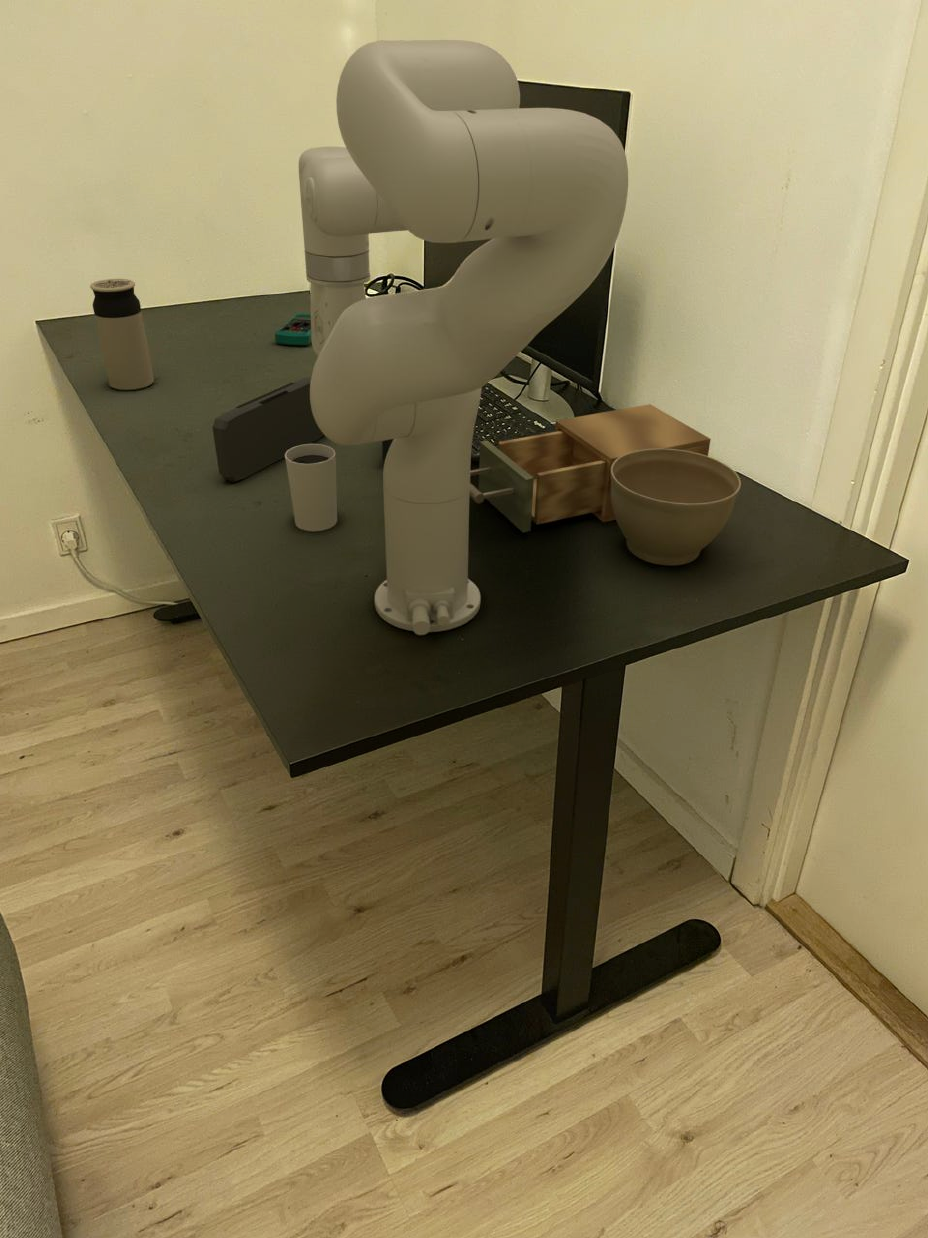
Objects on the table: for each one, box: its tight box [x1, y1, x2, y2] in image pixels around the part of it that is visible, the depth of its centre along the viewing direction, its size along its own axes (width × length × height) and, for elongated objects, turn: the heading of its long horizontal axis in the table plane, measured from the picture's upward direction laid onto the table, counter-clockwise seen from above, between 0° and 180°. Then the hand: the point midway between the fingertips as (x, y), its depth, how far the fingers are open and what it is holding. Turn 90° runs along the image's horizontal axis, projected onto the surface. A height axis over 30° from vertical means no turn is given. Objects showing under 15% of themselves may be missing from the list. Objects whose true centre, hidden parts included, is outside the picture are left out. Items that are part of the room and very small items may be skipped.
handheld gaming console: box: [212, 376, 325, 483], centre depth 140 cm, size 23×3×10 cm, turn 149°
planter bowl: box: [611, 449, 742, 566], centre depth 117 cm, size 16×16×11 cm
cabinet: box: [554, 403, 712, 523], centre depth 132 cm, size 17×15×10 cm
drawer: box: [469, 431, 607, 533], centre depth 126 cm, size 21×13×8 cm, turn 116°
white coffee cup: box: [284, 443, 338, 532], centre depth 123 cm, size 7×7×10 cm
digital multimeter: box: [274, 313, 312, 347], centre depth 194 cm, size 7×15×3 cm, turn 171°
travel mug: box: [89, 278, 155, 391], centre depth 164 cm, size 8×8×18 cm
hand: (346, 413), depth 118 cm, fingers closed
